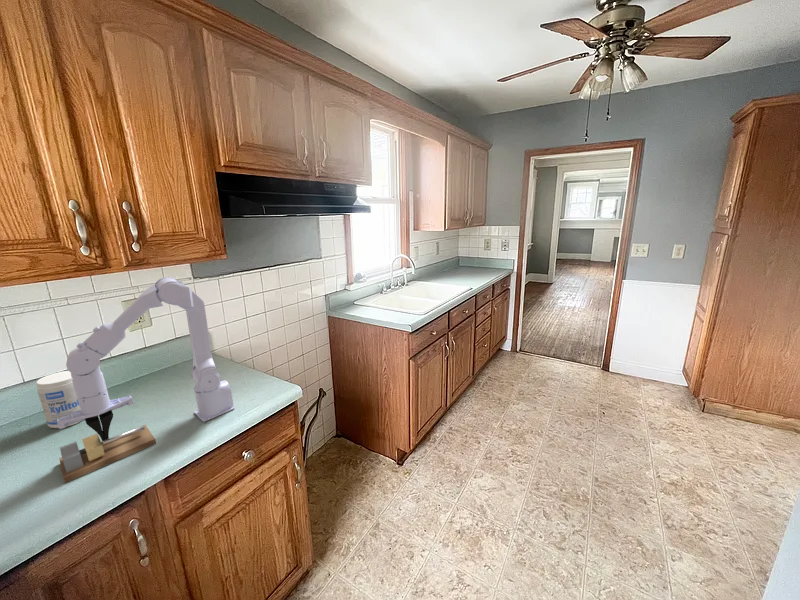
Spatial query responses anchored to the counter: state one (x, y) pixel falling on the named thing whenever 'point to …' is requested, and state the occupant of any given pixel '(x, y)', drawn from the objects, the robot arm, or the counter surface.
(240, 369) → the counter surface
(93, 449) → the nut
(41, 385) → the supplement tub
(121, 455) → the base
